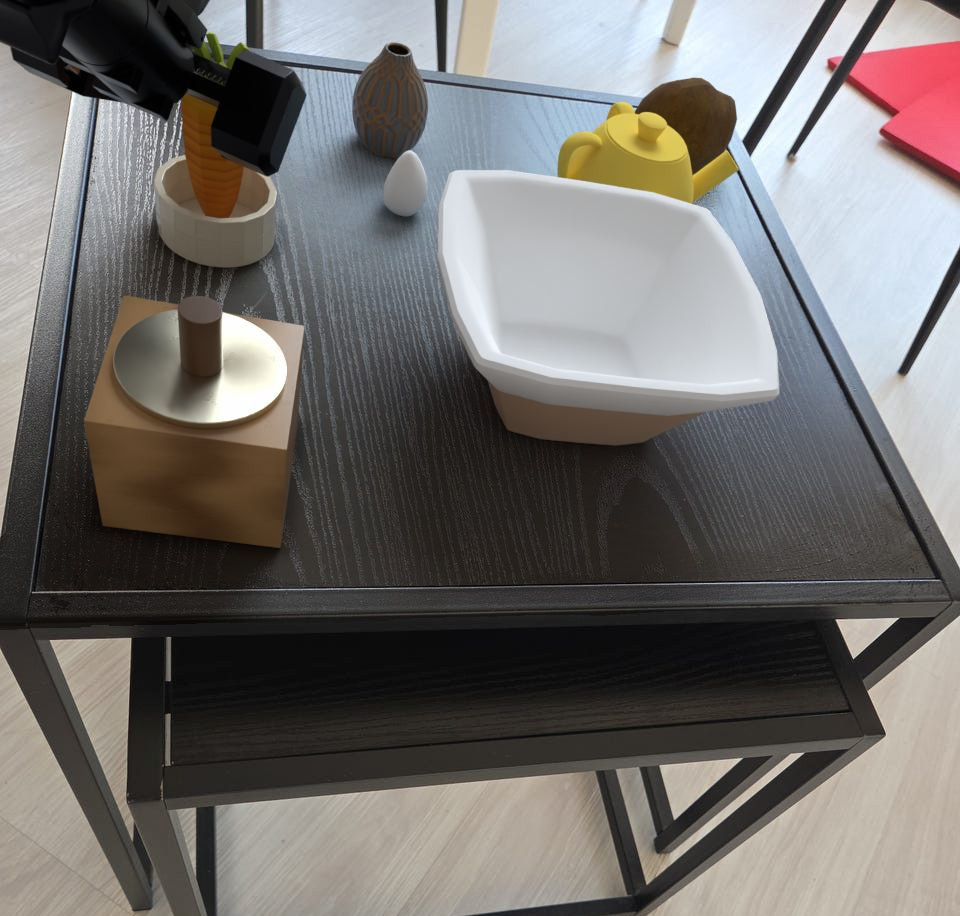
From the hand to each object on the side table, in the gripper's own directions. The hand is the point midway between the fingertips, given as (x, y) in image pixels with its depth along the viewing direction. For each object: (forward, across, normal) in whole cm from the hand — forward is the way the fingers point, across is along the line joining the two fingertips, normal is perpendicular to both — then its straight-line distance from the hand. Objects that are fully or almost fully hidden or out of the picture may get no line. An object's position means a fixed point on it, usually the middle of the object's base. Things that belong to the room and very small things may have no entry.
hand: (207, 123), depth 69 cm
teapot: (+24, -30, -10) cm, 39 cm away
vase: (+23, -5, -9) cm, 25 cm away
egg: (+17, -11, -3) cm, 20 cm away
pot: (+7, 0, +6) cm, 9 cm away
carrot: (+7, 0, +6) cm, 9 cm away
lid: (-16, -13, +16) cm, 26 cm away
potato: (+36, -30, -22) cm, 52 cm away
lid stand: (-9, -13, +22) cm, 27 cm away
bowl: (+7, -31, +6) cm, 33 cm away
